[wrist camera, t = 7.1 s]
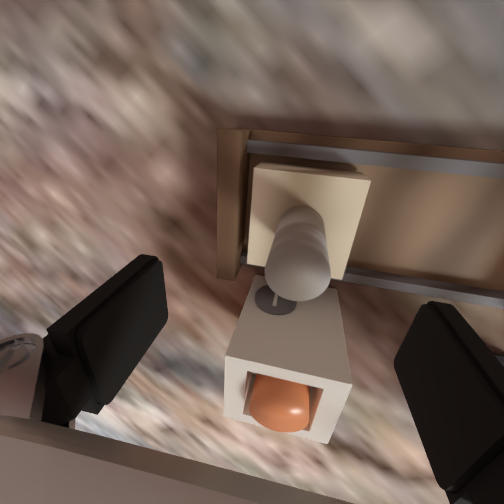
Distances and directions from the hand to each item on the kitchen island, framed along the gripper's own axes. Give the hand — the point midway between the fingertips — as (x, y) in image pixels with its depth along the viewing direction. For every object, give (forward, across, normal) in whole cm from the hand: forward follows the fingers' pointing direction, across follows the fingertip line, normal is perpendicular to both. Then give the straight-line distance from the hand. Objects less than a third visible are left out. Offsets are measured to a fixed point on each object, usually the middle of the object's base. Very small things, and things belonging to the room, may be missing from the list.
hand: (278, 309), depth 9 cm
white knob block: (+13, -1, +11) cm, 17 cm away
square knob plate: (+12, -1, 0) cm, 12 cm away
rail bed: (+13, -7, 0) cm, 15 cm away
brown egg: (+6, -1, +11) cm, 13 cm away
